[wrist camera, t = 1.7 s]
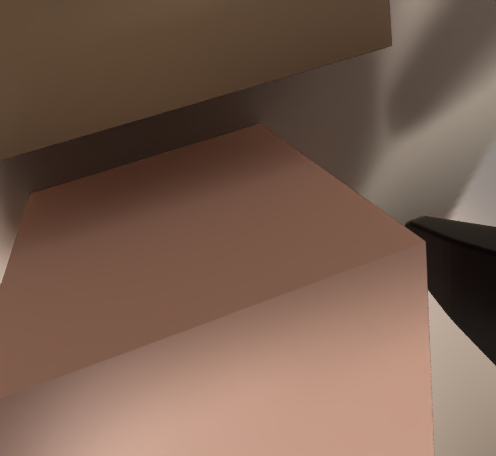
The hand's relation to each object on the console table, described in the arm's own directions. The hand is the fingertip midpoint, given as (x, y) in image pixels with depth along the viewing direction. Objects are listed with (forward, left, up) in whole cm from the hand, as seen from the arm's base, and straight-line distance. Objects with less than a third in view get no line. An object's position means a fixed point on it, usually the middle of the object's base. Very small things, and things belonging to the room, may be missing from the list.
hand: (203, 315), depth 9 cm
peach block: (0, 0, -2) cm, 2 cm away
